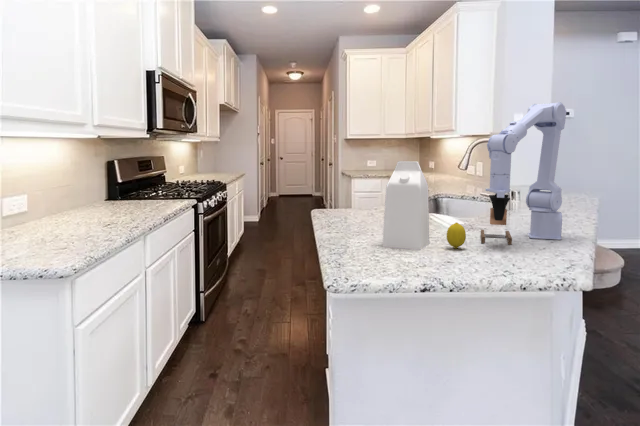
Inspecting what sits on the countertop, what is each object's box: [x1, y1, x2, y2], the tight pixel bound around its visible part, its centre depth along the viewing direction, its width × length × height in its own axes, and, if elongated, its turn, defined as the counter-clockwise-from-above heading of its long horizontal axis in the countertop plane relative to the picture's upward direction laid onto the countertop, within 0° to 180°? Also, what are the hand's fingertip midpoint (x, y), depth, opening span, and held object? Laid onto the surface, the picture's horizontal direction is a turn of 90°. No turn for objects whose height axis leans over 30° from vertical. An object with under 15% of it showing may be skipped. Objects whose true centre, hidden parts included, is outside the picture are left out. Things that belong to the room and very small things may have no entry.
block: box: [489, 207, 508, 226], centre depth 147 cm, size 4×4×4 cm
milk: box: [381, 160, 430, 251], centre depth 149 cm, size 12×12×26 cm
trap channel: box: [480, 229, 513, 246], centre depth 159 cm, size 9×16×2 cm, turn 163°
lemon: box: [446, 222, 467, 250], centre depth 144 cm, size 6×6×8 cm
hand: (498, 219), depth 147 cm, fingers closed on block, 4 cm apart
